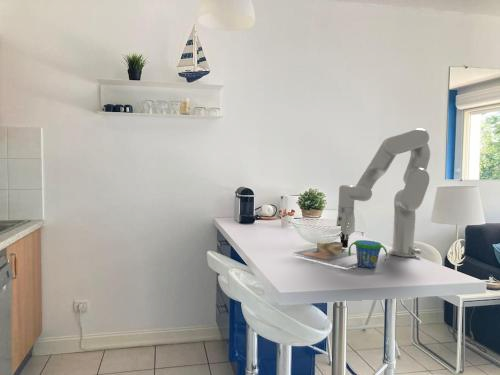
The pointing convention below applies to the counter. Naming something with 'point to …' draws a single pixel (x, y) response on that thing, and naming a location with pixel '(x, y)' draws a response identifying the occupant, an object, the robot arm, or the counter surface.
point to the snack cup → (367, 252)
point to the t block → (330, 247)
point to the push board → (323, 254)
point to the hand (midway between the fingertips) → (344, 247)
